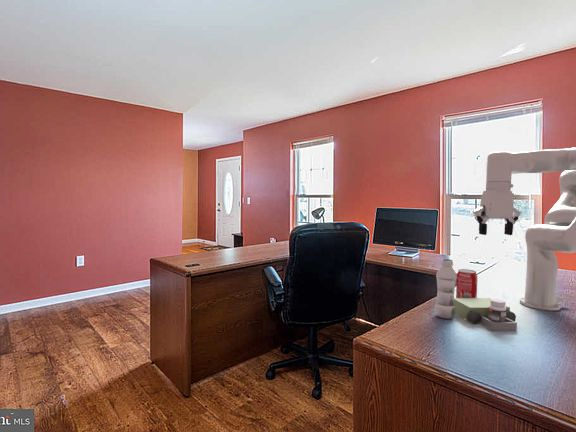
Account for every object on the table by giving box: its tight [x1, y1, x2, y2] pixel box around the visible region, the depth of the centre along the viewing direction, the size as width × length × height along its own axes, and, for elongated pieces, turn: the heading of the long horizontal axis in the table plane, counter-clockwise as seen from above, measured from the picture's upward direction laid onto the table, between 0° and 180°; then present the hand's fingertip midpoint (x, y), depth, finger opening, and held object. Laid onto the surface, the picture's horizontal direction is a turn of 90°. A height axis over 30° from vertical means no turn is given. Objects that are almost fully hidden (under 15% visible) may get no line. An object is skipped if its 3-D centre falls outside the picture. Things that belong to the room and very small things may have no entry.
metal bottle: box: [434, 258, 457, 320], centre depth 112 cm, size 6×7×20 cm
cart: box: [454, 297, 518, 332], centre depth 111 cm, size 16×19×5 cm
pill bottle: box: [488, 298, 506, 322], centre depth 105 cm, size 5×5×8 cm
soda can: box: [455, 268, 478, 298], centre depth 128 cm, size 7×7×13 cm
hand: (495, 234), depth 118 cm, fingers open, 9 cm apart
